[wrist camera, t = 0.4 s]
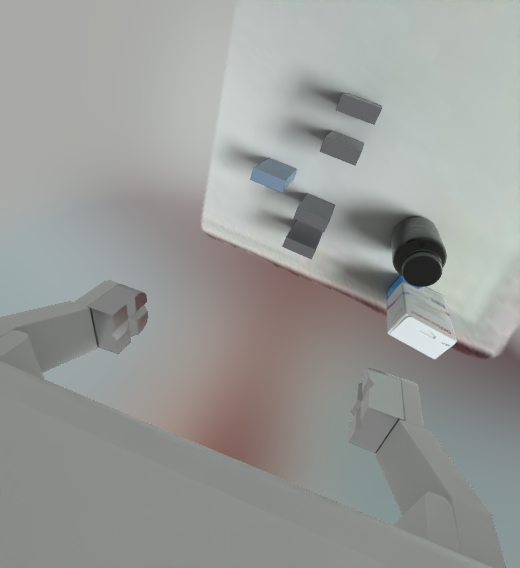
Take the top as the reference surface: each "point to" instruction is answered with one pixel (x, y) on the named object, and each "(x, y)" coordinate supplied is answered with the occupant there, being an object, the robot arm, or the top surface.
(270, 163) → the domino
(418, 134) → the top surface
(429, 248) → the supplement bottle
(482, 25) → the top surface
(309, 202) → the domino
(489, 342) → the top surface
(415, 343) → the ink box
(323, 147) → the domino
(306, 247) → the domino
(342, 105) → the domino
